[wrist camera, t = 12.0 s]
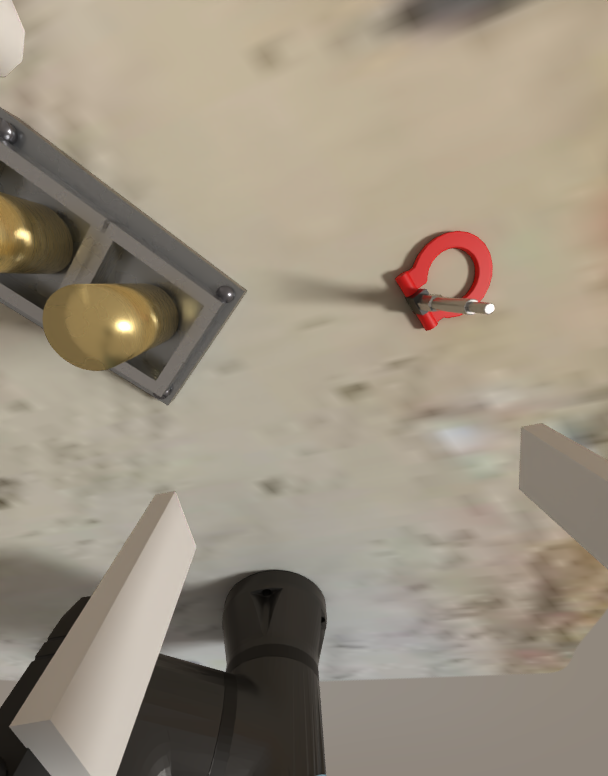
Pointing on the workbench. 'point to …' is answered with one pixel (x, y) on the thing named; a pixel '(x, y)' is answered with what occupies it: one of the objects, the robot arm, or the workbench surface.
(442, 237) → the tow hook
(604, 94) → the workbench surface
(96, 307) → the sleeve
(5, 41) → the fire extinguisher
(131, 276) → the housing
